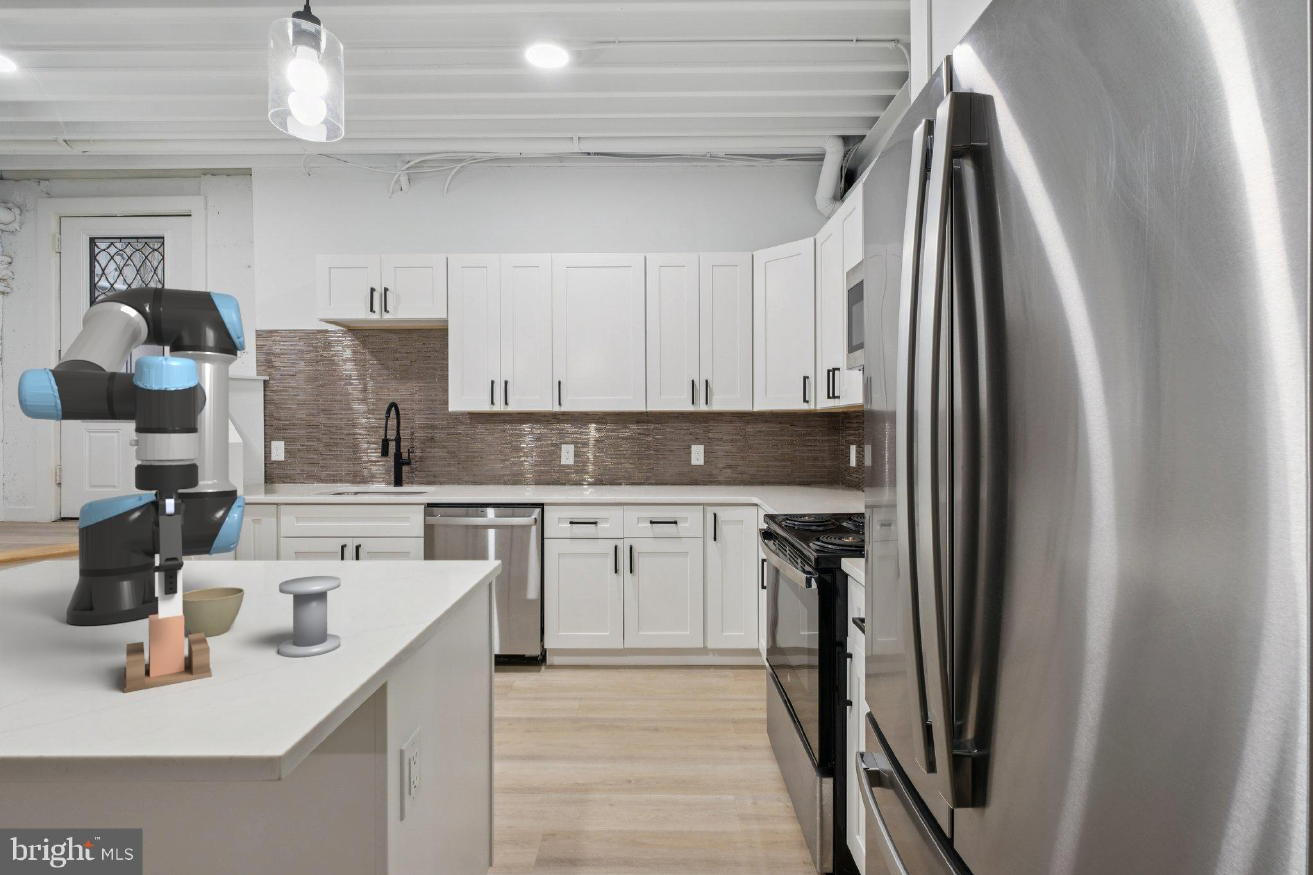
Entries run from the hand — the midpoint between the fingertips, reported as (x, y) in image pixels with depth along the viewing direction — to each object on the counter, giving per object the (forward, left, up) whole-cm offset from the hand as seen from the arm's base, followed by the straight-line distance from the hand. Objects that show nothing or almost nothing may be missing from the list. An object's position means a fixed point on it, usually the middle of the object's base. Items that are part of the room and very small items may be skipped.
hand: (168, 605), depth 98 cm
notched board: (0, 0, -10) cm, 10 cm away
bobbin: (0, +19, -10) cm, 21 cm away
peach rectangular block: (0, 0, -9) cm, 9 cm away
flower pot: (-20, +7, -10) cm, 23 cm away
